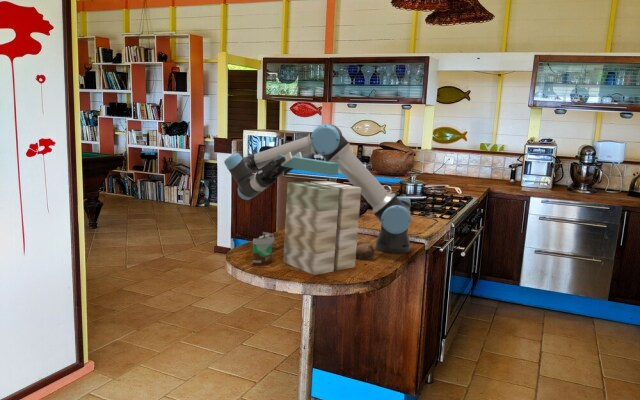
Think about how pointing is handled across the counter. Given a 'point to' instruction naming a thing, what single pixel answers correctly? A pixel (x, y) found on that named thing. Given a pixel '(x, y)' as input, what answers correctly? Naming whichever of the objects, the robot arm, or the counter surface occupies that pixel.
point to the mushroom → (364, 251)
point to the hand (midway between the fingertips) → (295, 155)
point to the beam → (312, 165)
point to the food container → (262, 248)
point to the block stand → (321, 226)
